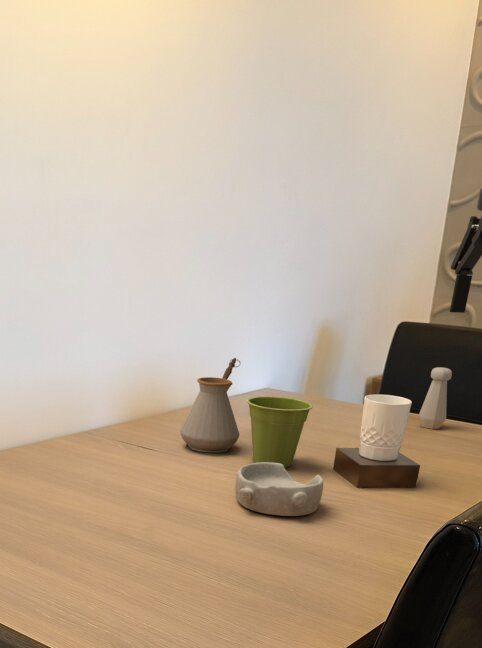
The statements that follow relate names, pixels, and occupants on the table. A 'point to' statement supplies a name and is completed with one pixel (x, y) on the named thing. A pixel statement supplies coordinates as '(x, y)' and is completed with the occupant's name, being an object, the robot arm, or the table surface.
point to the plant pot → (276, 427)
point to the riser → (375, 470)
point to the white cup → (383, 426)
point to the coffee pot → (211, 416)
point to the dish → (276, 490)
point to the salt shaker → (435, 399)
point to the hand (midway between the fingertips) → (476, 317)
